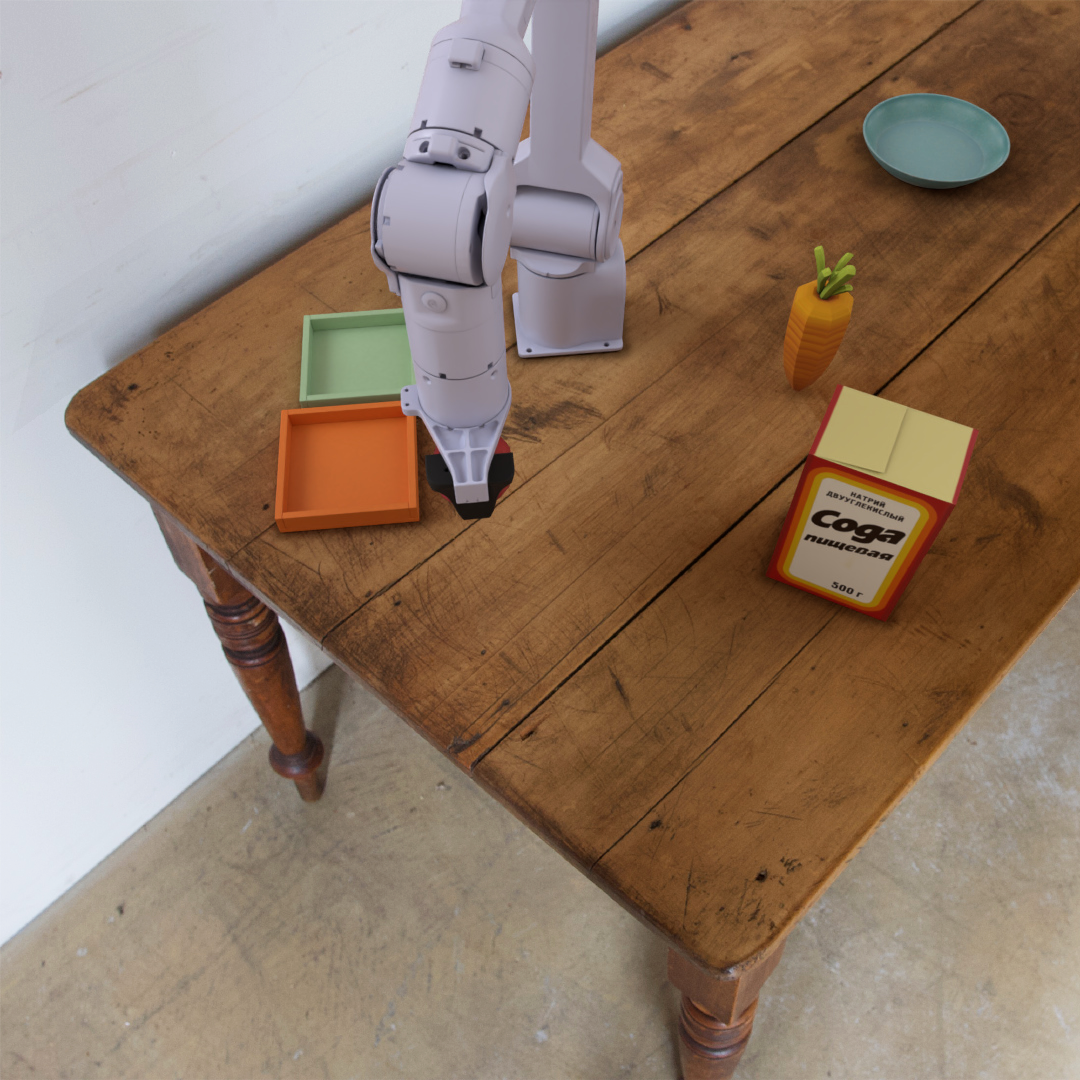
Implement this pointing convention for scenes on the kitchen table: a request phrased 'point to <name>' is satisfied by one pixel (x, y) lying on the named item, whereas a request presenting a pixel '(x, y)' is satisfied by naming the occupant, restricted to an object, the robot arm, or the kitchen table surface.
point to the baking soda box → (870, 501)
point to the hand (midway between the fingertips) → (473, 477)
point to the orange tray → (346, 467)
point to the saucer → (935, 140)
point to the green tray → (355, 358)
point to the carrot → (817, 322)
